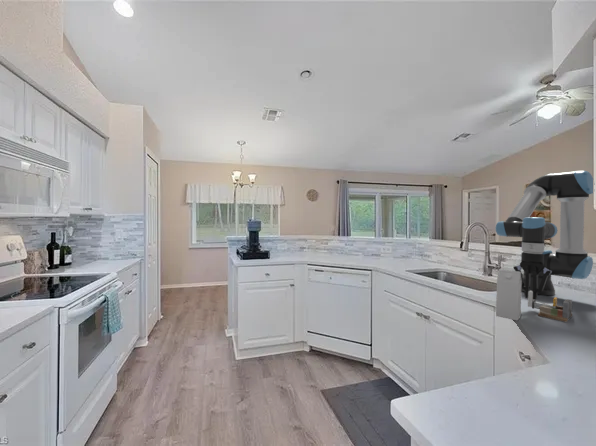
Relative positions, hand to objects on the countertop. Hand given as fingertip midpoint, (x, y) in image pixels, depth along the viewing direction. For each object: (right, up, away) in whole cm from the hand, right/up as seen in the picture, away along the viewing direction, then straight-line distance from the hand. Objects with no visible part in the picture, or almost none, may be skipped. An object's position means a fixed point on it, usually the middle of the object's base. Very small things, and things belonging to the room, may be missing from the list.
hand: (530, 306), depth 121 cm
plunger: (+3, -1, -4) cm, 5 cm away
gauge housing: (+5, -2, -6) cm, 8 cm away
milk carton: (-16, -2, -8) cm, 18 cm away
